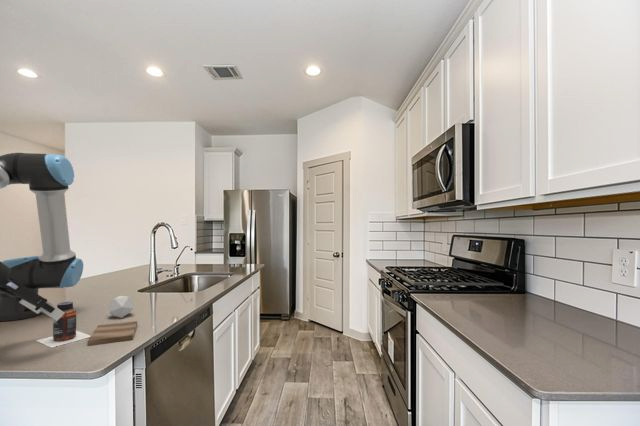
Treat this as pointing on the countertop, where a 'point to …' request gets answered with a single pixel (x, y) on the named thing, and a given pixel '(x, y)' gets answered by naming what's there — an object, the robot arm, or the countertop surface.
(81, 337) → the white tile
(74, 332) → the supplement bottle
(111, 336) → the walnut board
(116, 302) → the die
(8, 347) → the countertop surface
